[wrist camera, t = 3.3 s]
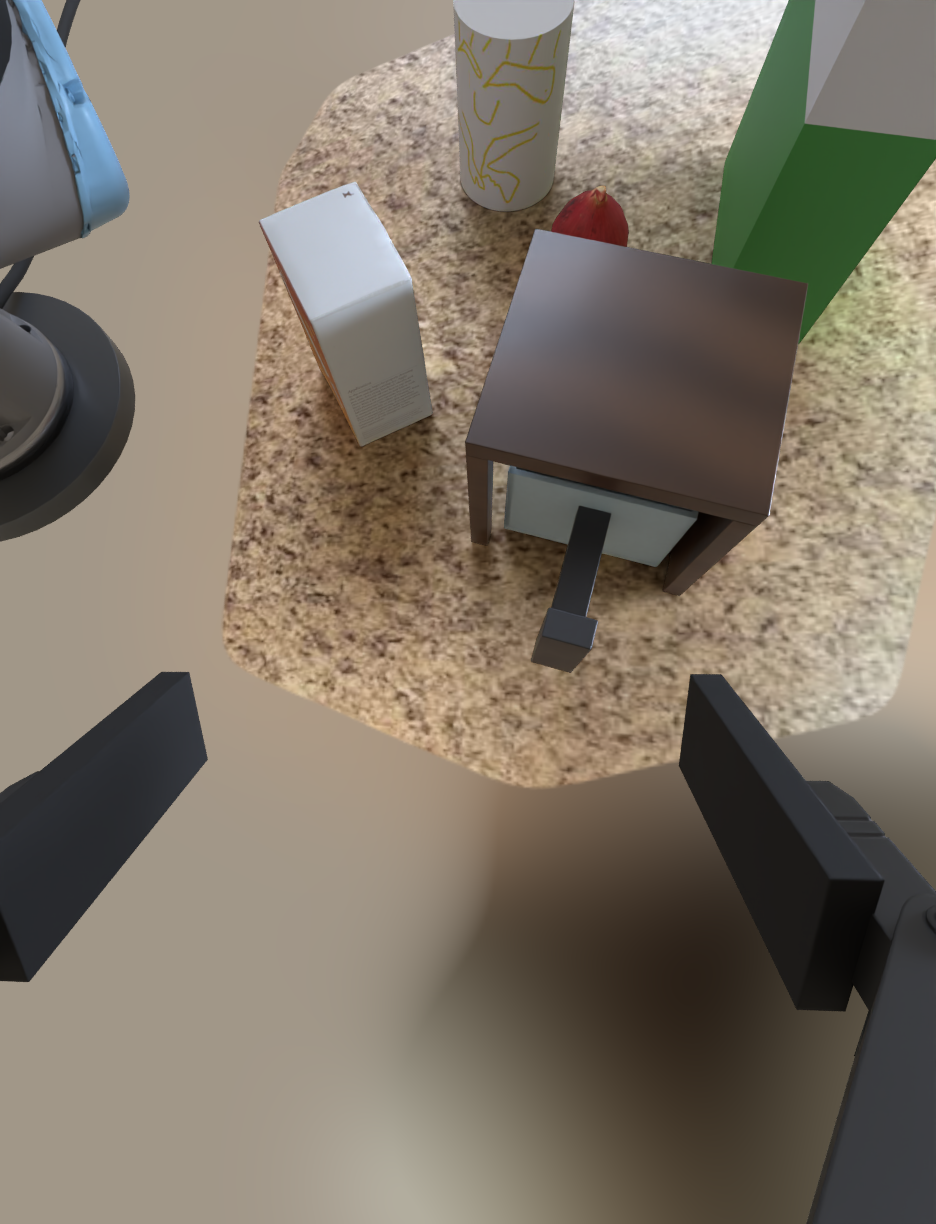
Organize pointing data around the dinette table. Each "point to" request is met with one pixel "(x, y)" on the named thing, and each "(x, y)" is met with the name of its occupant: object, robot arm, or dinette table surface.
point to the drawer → (586, 547)
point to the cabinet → (642, 387)
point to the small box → (354, 308)
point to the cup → (510, 97)
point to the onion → (593, 218)
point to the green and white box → (829, 142)
